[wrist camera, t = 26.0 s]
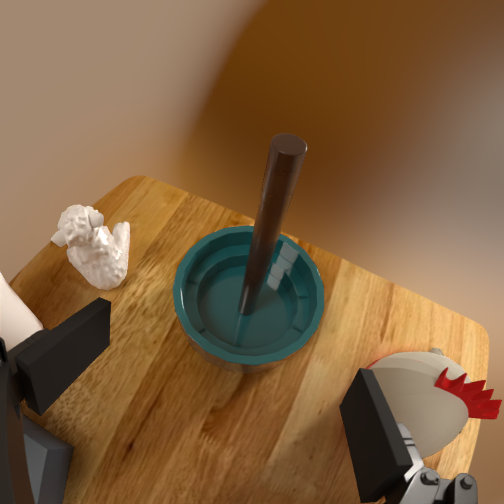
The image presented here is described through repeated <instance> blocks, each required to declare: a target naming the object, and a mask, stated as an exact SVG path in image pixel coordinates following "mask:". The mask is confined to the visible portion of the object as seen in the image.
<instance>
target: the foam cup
mask: <svg viewBox="0 0 504 504" xmlns="http://www.w3.org/2000/svg"><path fill="white" fill-rule="evenodd" d="M43 329H44V328H43V325H42V323H41V322H40V321H39V320H38V318H37V317H36V316H35V315H34V314H33V313H32V311H31V310H30V309H29V308H28V307H27V306H26V305H25V304H24V302H23V301H22V300H21V299H20V298H19V297H18V295H17V294H16V293H15V292H14V291H13V289H12V288H11V287H10V286H9V284H8V283H7V282H6V281H5V279H4V278H3V276H2V274H1V272H0V337H1V338H2V339H3V340H4V341H5V346H6V351H7V352H8V351H9V350H11V349H12V348H13V347H15V346H16V345H18V344H19V343H21V342H22V341H24V340H25V339H26V338H28V337H30V336H31V335H32V334H34V333H35V332H37V331H39V330H43Z"/></svg>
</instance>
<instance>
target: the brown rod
mask: <svg viewBox="0 0 504 504" xmlns="http://www.w3.org/2000/svg"><path fill="white" fill-rule="evenodd" d="M306 151H307V145H306V143H305V142H304V141H303V140H302V139H301V138H299V137H298V136H295V135H292V134H285V133H283V134H278V135H276V136H274V137H273V138H272V140H271V145H270V150H269V155H268V160H267V165H266V170H265V175H264V179H263V184H262V190H261V194H260V199H259V204H258V209H257V214H256V219H255V224H254V229H253V234H252V239H251V244H250V249H249V254H248V259H247V264H246V269H245V274H244V279H243V285H242V290H241V295H240V300H239V305H238V311H239V312H240V313H241V314H242V315H244V316H249V315H251V314H252V313H253V312H254V309H255V306H256V303H257V300H258V297H259V295H260V292H261V289H262V286H263V283H264V280H265V277H266V274H267V271H268V268H269V265H270V262H271V259H272V256H273V253H274V250H275V247H276V244H277V241H278V238H279V235H280V232H281V229H282V226H283V223H284V220H285V217H286V214H287V211H288V208H289V205H290V202H291V199H292V195H293V192H294V189H295V186H296V183H297V180H298V177H299V174H300V170H301V167H302V164H303V161H304V158H305V154H306Z"/></svg>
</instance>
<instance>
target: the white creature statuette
mask: <svg viewBox="0 0 504 504" xmlns="http://www.w3.org/2000/svg"><path fill="white" fill-rule="evenodd" d="M103 220H104V218H103V215H102V214H101V213H98V210H94V208H93V207H90V206H86V207H84V206H81V205H80V204H79V205H72V206H71V207H68V208H67V209H66V211H63V212H62V213H61V218H60V220H59V222H58V226H57V227H58V229H59V230H58V231H57V232H56V233H55V234H54V235H53V236H52V238H51V240H52V241H53V242H54V243H55V244H57V245H58V246H59V247H62V246H64V245H65V244H66V243H67V245H68V247H69V249H67V256H68V258H69V259H68V261H69V262H70V263H72V265H73V267H75V268H76V269H77V270H78V271H79V272H80V273H81V275H83V276H84V278H85V279H87V281H88V282H89V283H90V284H91V285H92V286H95V287H96V288H98V289H101V290H110V289H112V288H116V287H118V286H119V285H120V284H121V282H122V280H124V279H125V276H126V275H127V268H128V256H129V255H128V252H129V243H130V240H129V238H130V225H129V223H128V222H123V224H122V223H117V224H116V225H115V226H114V228H113V232H112V235H111V233H110V232H109V230H108V228H107V226H102V225H103Z"/></svg>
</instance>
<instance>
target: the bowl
mask: <svg viewBox="0 0 504 504" xmlns="http://www.w3.org/2000/svg"><path fill="white" fill-rule="evenodd" d="M253 229H254V226H238V227H229V228H224V229H221V230H219V231H216V232H214V233H211V234H209V235H207V236H205V237H204V238H202V239H201V240H200V241H199V242H198V243H196V244H195V245H194V246H193V247H191V248H190V249H189V250H188V252H187V253H186V255H185V257H184V258H183V260H182V261H181V263H180V264H179V266H178V268H177V272H176V276H175V280H174V285H173V297H174V305H175V311H176V314H177V317H178V320H179V323H180V325H181V328H182V330H183V332H184V334H185V336H186V338H187V340H188V342H189V343H190V345H191V347H192V348H193V349H194V350H195V351H196V352H198V353H199V354H200V355H201V356H202V357H203V358H204V359H205V360H206V361H207V362H209V363H211V364H214V365H216V366H218V367H220V368H222V369H224V370H227V371H232V372H241V373H255V372H260V371H264V370H269V369H272V368H274V367H276V366H277V365H279V364H281V363H282V362H284V361H286V360H287V359H289V358H290V357H292V356H293V355H294V354H295V353H296V352H297V351H299V350H300V349H301V348H302V347H303V346H304V345H305V344H306V342H307V341H308V340H309V339H310V338H311V336H312V335H313V334H314V333H315V331H316V330H317V328H318V325H319V322H320V319H321V317H322V314H323V311H324V286H323V283H322V280H321V277H320V274H319V272H318V269H317V266H316V265H315V264H314V262H313V261H312V260H311V258H310V257H309V255H308V254H307V253H306V251H305V250H304V249H302V248H301V247H300V246H299V245H297V244H296V243H295V242H293V241H292V240H291V239H290V238H288V237H286V236H284V235H282V234H280V235H279V238H278V241H277V244H276V247H275V250H274V253H273V256H272V259H271V262H270V265H269V268H268V271H267V274H266V277H265V280H264V283H263V286H262V289H261V292H260V295H259V297H258V300H257V303H256V306H255V309H254V312H253V313H252V314H251V315H249V316H244V315H242V314H241V313H240V312H239V311H238V305H239V300H240V295H241V290H242V285H243V279H244V274H245V269H246V264H247V259H248V254H249V249H250V244H251V239H252V234H253Z"/></svg>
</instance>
